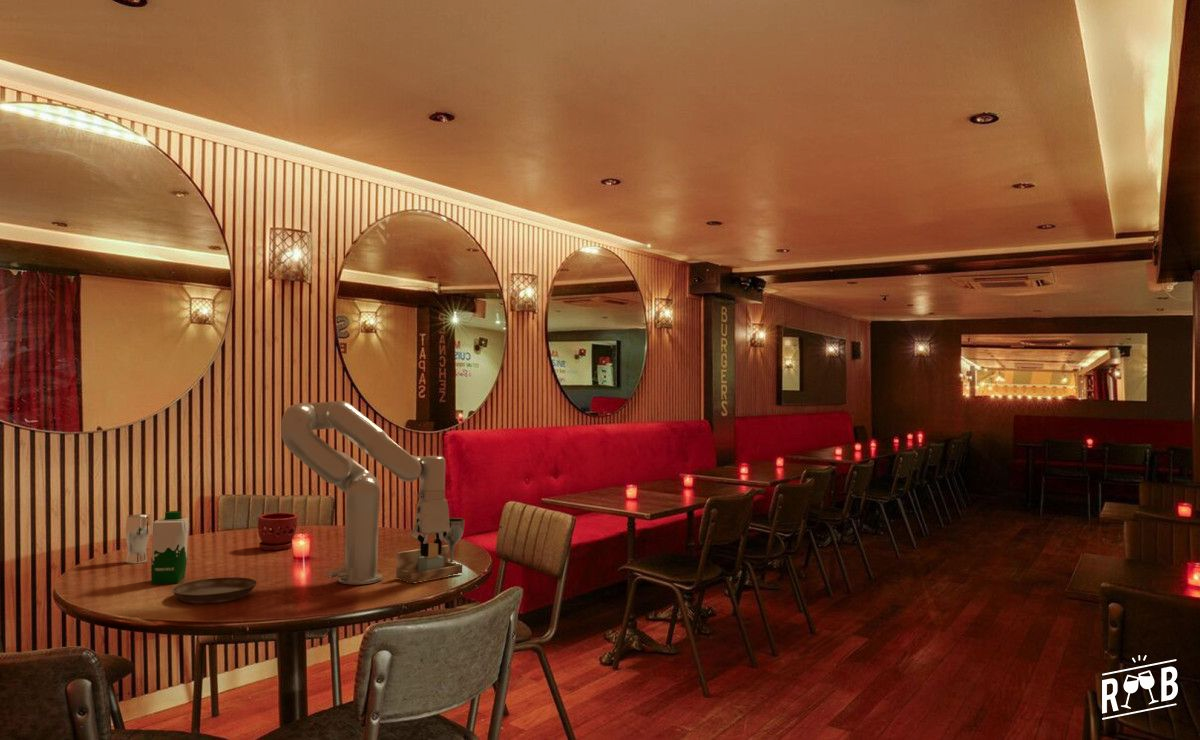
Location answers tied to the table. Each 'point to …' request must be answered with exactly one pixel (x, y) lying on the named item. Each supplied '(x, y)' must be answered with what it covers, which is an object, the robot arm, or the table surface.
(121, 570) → the table surface
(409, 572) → the board
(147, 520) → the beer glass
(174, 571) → the milk carton
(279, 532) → the plant pot
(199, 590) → the plant saucer
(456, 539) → the wine glass
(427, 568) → the grey square block
